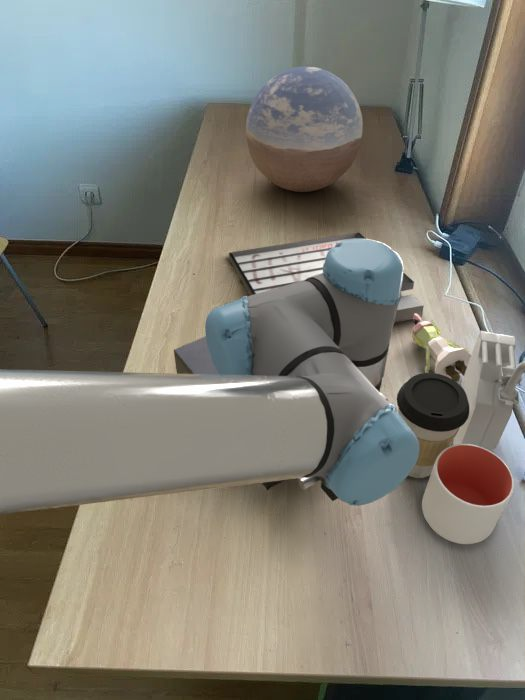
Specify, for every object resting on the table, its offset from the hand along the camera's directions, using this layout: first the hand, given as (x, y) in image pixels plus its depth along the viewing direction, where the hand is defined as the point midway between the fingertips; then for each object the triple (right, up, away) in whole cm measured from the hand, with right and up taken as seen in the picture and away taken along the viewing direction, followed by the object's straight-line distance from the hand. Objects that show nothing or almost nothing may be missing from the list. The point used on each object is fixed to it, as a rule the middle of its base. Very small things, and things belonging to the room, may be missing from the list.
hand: (330, 491), depth 79 cm
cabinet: (-14, +11, +17) cm, 25 cm away
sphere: (+1, +65, +77) cm, 100 cm away
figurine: (+23, +18, +25) cm, 38 cm away
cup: (+18, -4, +1) cm, 18 cm away
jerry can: (+23, +5, +11) cm, 26 cm away
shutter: (+3, +33, +42) cm, 53 cm away
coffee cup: (+14, +3, +8) cm, 16 cm away
